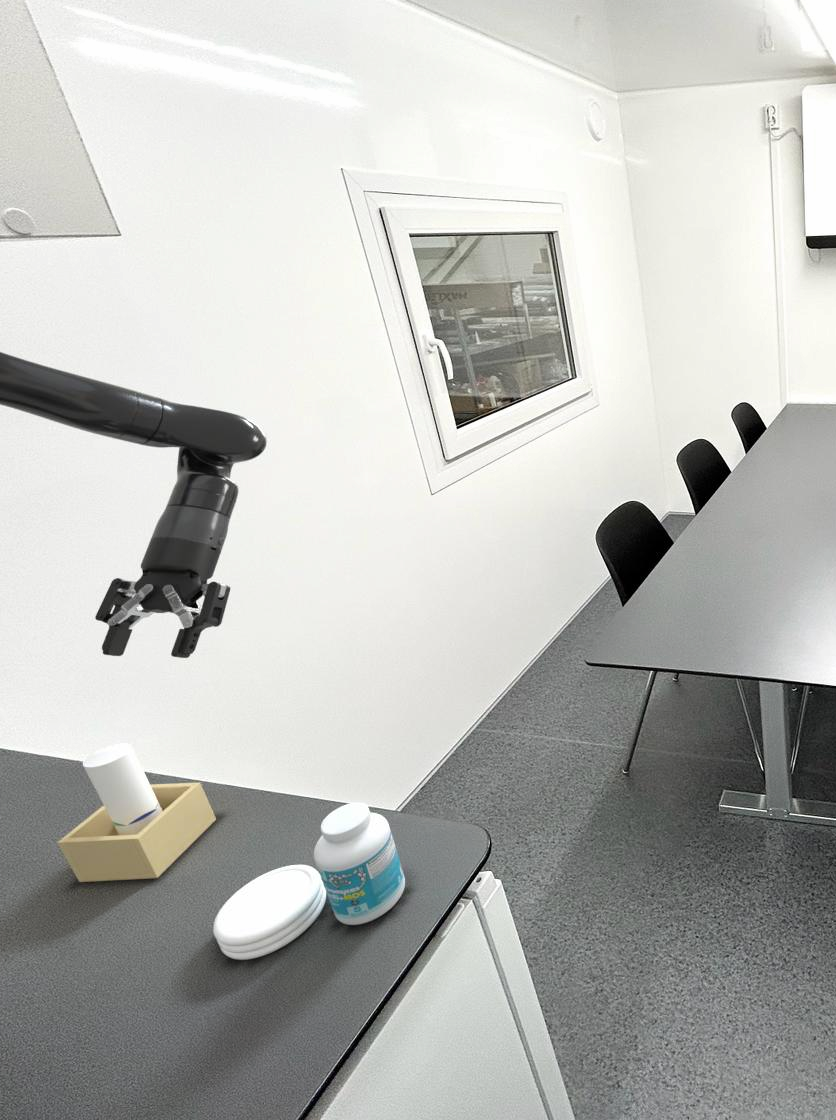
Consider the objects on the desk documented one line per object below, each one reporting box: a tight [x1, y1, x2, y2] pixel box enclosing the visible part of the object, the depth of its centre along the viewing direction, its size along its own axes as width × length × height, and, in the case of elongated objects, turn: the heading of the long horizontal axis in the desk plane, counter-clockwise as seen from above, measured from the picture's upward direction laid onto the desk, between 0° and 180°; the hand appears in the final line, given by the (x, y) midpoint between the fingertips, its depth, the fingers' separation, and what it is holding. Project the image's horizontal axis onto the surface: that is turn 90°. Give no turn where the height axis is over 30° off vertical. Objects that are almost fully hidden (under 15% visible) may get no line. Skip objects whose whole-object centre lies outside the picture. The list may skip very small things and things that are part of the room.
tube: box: [82, 742, 163, 835], centre depth 81 cm, size 4×4×15 cm
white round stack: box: [212, 864, 327, 961], centre depth 74 cm, size 10×10×4 cm
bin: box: [56, 782, 217, 883], centre depth 83 cm, size 9×9×7 cm
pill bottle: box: [313, 802, 406, 926], centre depth 75 cm, size 8×7×14 cm
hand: (146, 656), depth 84 cm, fingers open, 8 cm apart
